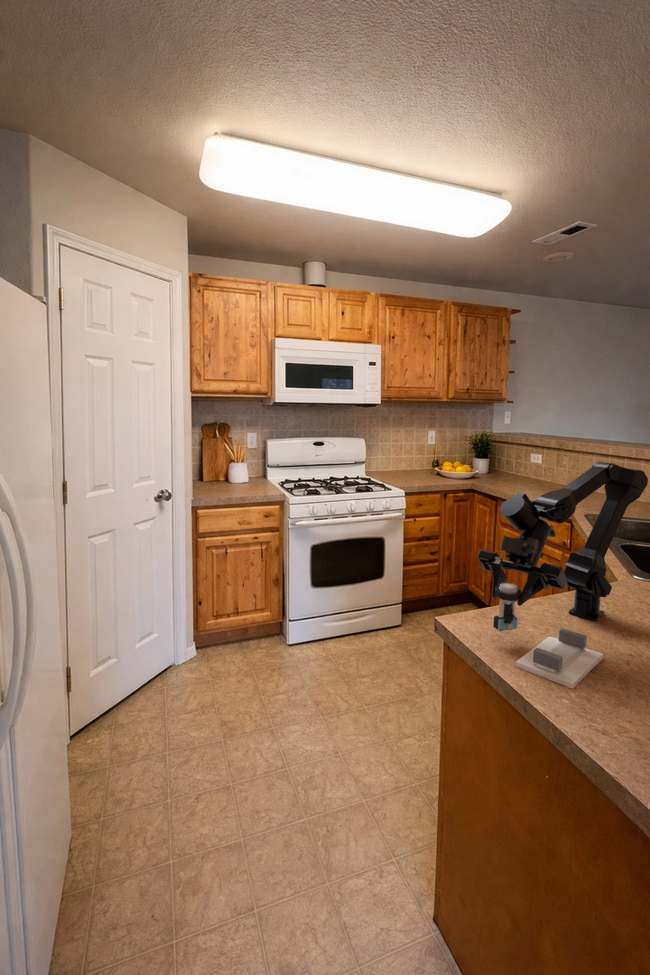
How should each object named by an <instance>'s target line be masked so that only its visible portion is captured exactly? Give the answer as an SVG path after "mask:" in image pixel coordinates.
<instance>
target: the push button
mask: <svg viewBox="0 0 650 975" xmlns="http://www.w3.org/2000/svg"><path fill="white" fill-rule="evenodd" d="M495 591H496V596H497V597H496V598H498V600H499V603H498V605H499V606H498V614H497V615H494V616H493V625H492V626H493V628H495V629H496V630H497V631H498V632H504V631H508V632H510V631H513V630H514V629H515V630H516V629H517V628H518V625H521V624H522V623H521V622H520V621H522V619H521V618H518V617H517V616H515V615H516V612H515V611H516V610H515V609H516V601H518V599H519V596H520V594H521V592H522V590H521V589H519V588H518V586H517V584H515V583H511V582H505V583H501V584H500V586H497V587H496V588H495Z"/></svg>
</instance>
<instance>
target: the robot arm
mask: <svg viewBox="0 0 650 975" xmlns="http://www.w3.org/2000/svg"><path fill="white" fill-rule="evenodd" d="M648 482H649V478H648V476H647V475H646V472H645V471H644V470H642V469H635V468H627V467H624V466H620V465H618V464H616V463H613V462H605V461H597V462H594V463H593V465H592V466H591V467H590V468H589V469H587V470H586V471H584V472H583V473H582V474H581V475H579V476H577V477H576V478H575V479H573V480H572V481H570V482H569V483H568V484H566V485H565V486H564V487H562V488H559V489H555V490H552V491H548V492H545V493H543V494H541V495H538V497H537V498H536V499H535V500H532V501H531V500H530V497H529V496H528V495H527V494H526V493H521V492H517V494H516V495H515V496H512V497H509V498H508V499H506V500H504V501H503V502H502V504H501V505H500V508H499V509H500V514H501V515H502V516H503V517H504V518H505V520H506V521H508V522H509V524H510V525H512V527H513V529H515V530H517V531H521V532H520V534H519V535H518V537H517V536H515V537H512V536H511V537H509V536H503V537H502V542H501V545H500V546H501V547H500V551H501V552H505V554H504V555H505V557H506V558H508V560H507V559H504V558H501V557H500V555H499V553H498V552H496V551H491V550H487V549H482V550H479V552H478V554H477V555H476V559H477V561H478V562H479V564H480V565H481V567H482V569H484V570H485V571H488V572H491V573H492V598H493V599H497V598H498V597H497V596H496V591H495V588H496V587H497V586H500V584H501V583H506V581H507V579H508V576H507V575H506V573H505V572H506V570H509V571H514V572H518V573H522V574H526V575H527V577H526V578H527V580H526V582H525V584H524V586H523V588H522V590H521V594H520V596H519V599H518V600H517V604H516V605H518V606H519V607H520V606H522V605H524V603H526V602H527V601H528V600H530V599H531V598H532V597H533V596H534V595H536V594H538V593H539V592H541V591H542V590H548V589H549V587H550V588H555V589H559V590H565V588H566V586H567V587H568V588H571V589H575V590H574V601H573V604H574V605H573V607H572V608H570V609H569V610H568V613H569V614H571V615H573V616H577V617H581V618H584V619H587V620H591V621H597V620H598V619H599V618H601V617H602V616H603V615H604V614H605V611H604V610H600V608H601V598H607V596H609V595H610V594H611V591H612V589H613V587H612V585H611V584H610V582H609V581H608V579H606V577H605V576H606V572H607V565H606V561H605V560H606V559H605V557H606V554H607V552H608V550H609V547H610V546H611V544H612V541H613V539H614V537H615V535H616V532H617V530H618V528H619V526H620V523H621V522H622V519H623V517H624V515H625V512H626V511H627V508H628V507H629V505H631V504H632V503H634V502H635V501H636V500H638V499H640V498H641V496H642V494H643V493H644V492H645V489H646V488H647V486H648V484H649V483H648ZM603 486H604V492H605V497H606V498H605V500H604V502H603V505H602V506H601V509H600V510H599V513H598V515H597V517H596V520H595V521H594V524H593V526H592V529H591V531H590V533H589V535H588V538H587V540H586V542H585V544H584V546H583V548H582V549H580V550H579V551H578V552H576V551H572V552H571V553H570V554H569V557H568V559H567V562H566V563H564V566H565V567H564V570H563V568H562V567H561V565H556V564H551V563H546V562H543V563H542V564H541V565H540V567H537V564H538V562H539V560H540V559H542V558H543V557H544V553H543V550H544V547H545V545H546V543H547V540H548V538H549V537H550V538H555V537H556V535H557V534H556V532H555V530H554V529H553V525H551V524H549V523H548V522H553V523H556V524H564V523H566V521H568V520H569V519H570V518H571V516H573V515H574V514H575V512H576V509H577V505H578V504H579V503H580V502H582V501H583V500H585V499H587V498H588V497H589V496H590V495H592V494H593V493H594V492H596V491H598V490H599V489H600V488H601V487H603ZM547 521H548V522H547Z"/></svg>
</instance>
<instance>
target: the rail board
mask: <svg viewBox="0 0 650 975" xmlns="http://www.w3.org/2000/svg"><path fill="white" fill-rule="evenodd" d="M558 633H559V634H558V638H556V637H553V636H547V637H546V638H545V639H544V640H543V641H541V642H540V643H539V644H537V645H536V646H535V647H533V648H532V649H531V650H529V651H528V652H526V654H524V655H523V656H521V657H520V658H519V659H518V660H516V661H515V667H516V668H518V669H521V670H523V671H526V672H529V673H532V674H534V675H536V676H539V677H540V678H541V677H542V678H544V679H547V680H549V681H552V682H554V683H557V684H559V685H562V686H564V687H567V688H569V689H572V690H573V689H575V687H576V686H577V685H578V684H579V683H580V682H581V681H582V680H584V678H585V677H586V676H587V675H588V674H589V673H590V671H592V670H593V669H594V668H595V667H596V666H597V665H598V664H599V663H600V662H601V661H602V660H603V659H604V658H603V657H604V654H603V653H601V652H598V651H596V650H592V649H589V648H587V642H588V640H587V639H588V635H585V634H584V633H583V634H582V633H580V632H575V631H573V630H569V629H567V628H561V629H559V632H558Z"/></svg>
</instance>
